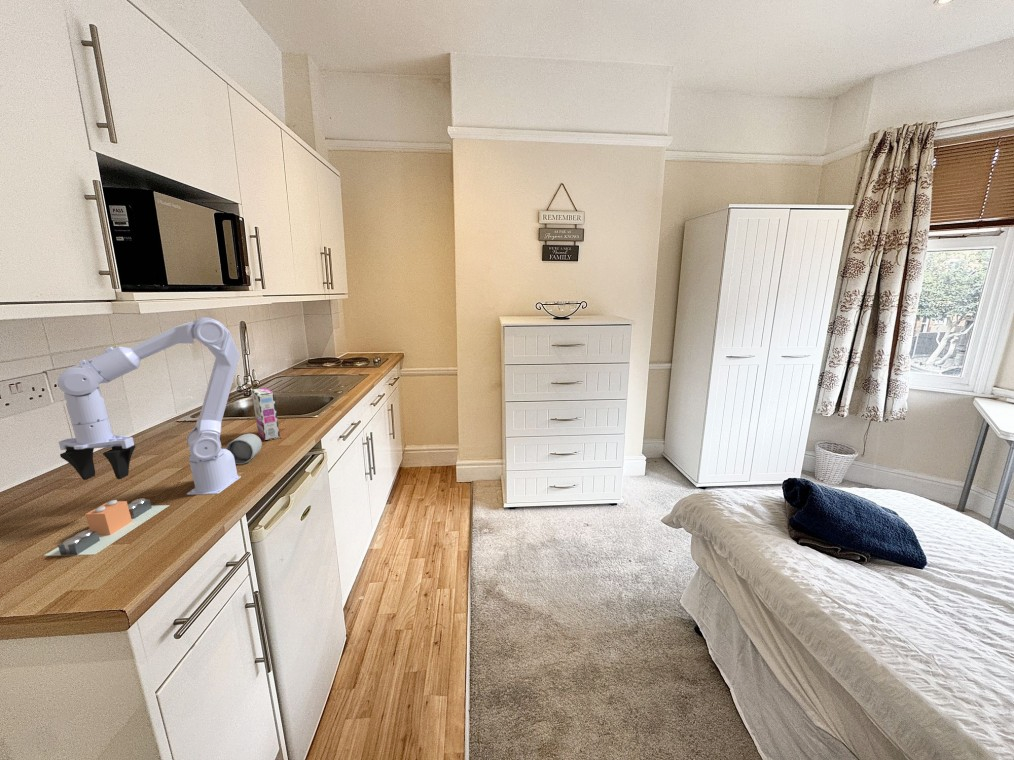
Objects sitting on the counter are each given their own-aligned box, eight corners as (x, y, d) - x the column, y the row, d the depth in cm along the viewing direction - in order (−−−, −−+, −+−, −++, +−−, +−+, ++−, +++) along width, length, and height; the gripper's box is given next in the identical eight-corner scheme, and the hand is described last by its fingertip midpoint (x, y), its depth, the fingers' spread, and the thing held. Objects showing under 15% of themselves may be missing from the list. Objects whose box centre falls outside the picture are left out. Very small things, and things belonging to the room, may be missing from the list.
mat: (128, 507, 96) (127, 506, 96) (170, 506, 96) (169, 505, 96) (44, 557, 78) (43, 555, 78) (95, 556, 78) (94, 554, 78)
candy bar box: (281, 437, 139) (274, 392, 135) (265, 441, 136) (257, 395, 132) (273, 429, 147) (266, 386, 143) (257, 433, 144) (250, 389, 140)
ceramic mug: (265, 452, 127) (261, 429, 125) (255, 462, 119) (250, 438, 117) (228, 456, 125) (223, 433, 123) (215, 467, 117) (210, 443, 115)
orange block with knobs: (114, 521, 89) (107, 499, 88) (132, 521, 89) (126, 498, 88) (91, 535, 84) (84, 511, 83) (110, 535, 84) (103, 511, 83)
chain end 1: (84, 540, 83) (81, 530, 82) (100, 540, 83) (97, 529, 82) (60, 555, 78) (57, 544, 77) (77, 554, 78) (73, 543, 77)
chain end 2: (138, 508, 95) (136, 498, 94) (152, 507, 95) (149, 498, 94) (120, 519, 90) (117, 509, 90) (134, 518, 90) (131, 508, 90)
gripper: (36, 427, 84) (54, 486, 87) (106, 426, 84) (121, 485, 87) (72, 416, 90) (87, 472, 94) (136, 415, 91) (149, 470, 94)
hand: (106, 477), depth 91 cm, fingers open, 7 cm apart
